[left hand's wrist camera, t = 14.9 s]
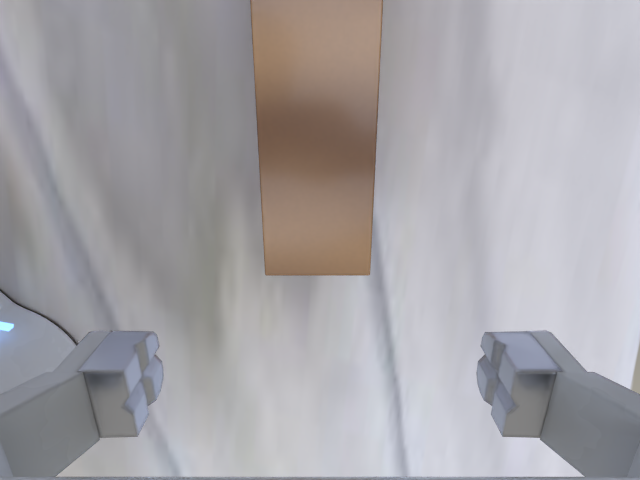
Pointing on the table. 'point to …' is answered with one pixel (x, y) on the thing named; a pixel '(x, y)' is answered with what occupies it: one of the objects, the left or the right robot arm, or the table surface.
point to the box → (317, 132)
